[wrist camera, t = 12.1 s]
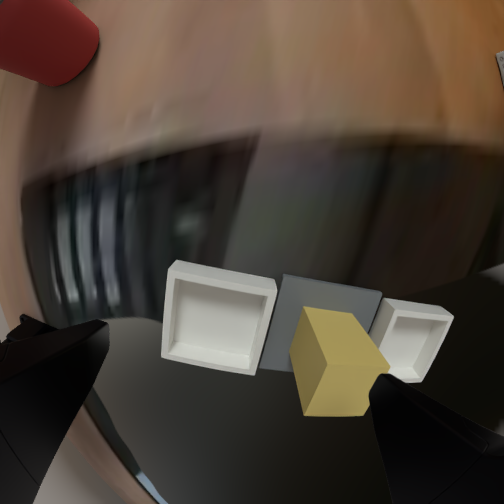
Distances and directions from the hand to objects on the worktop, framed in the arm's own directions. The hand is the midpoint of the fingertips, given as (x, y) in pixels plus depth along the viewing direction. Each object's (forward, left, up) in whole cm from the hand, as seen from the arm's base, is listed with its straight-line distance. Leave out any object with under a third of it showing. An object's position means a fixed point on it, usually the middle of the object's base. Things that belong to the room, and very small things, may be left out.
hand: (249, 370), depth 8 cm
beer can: (+15, +18, -12) cm, 26 cm away
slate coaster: (-4, -7, -12) cm, 14 cm away
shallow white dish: (-4, +1, -12) cm, 13 cm away
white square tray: (-4, -15, -12) cm, 19 cm away
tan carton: (-4, -7, -11) cm, 14 cm away
